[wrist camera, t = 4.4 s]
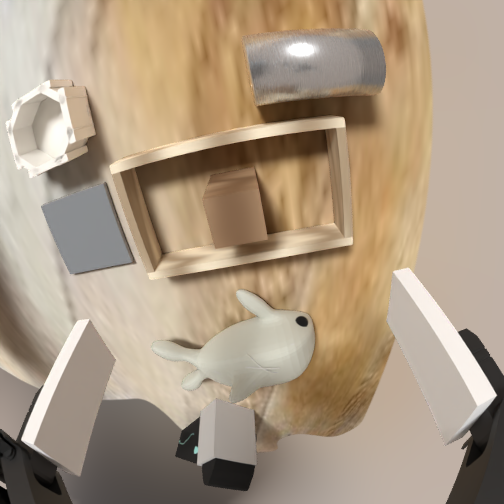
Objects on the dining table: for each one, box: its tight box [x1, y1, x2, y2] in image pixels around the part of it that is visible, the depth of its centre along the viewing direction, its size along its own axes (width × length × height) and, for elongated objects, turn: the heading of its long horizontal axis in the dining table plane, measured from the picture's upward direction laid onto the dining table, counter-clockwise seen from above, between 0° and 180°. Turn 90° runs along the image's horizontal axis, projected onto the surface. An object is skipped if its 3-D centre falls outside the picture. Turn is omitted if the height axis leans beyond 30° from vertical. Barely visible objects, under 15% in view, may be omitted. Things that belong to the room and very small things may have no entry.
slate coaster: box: [41, 182, 134, 274], centre depth 28 cm, size 9×9×1 cm
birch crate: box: [109, 115, 353, 280], centre depth 26 cm, size 20×12×4 cm, turn 100°
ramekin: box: [6, 80, 96, 178], centre depth 21 cm, size 8×8×4 cm
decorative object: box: [175, 398, 257, 491], centre depth 41 cm, size 8×18×15 cm, turn 146°
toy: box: [151, 289, 315, 403], centre depth 32 cm, size 17×19×10 cm
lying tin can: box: [242, 29, 386, 106], centre depth 19 cm, size 10×6×6 cm, turn 100°
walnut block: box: [202, 167, 268, 249], centre depth 24 cm, size 4×4×7 cm
